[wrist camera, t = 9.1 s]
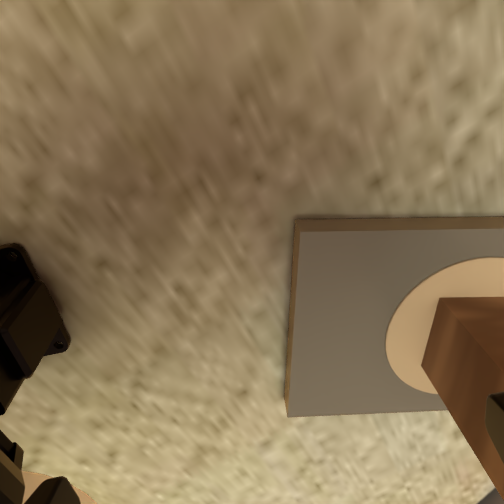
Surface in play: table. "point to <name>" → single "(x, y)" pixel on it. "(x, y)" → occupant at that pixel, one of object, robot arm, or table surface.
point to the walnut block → (469, 369)
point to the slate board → (378, 307)
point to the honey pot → (36, 479)
